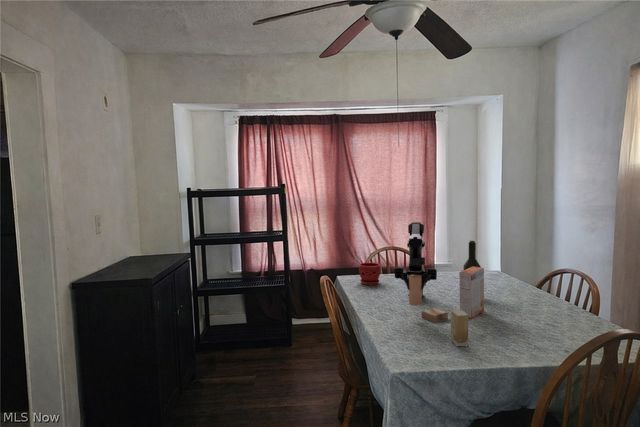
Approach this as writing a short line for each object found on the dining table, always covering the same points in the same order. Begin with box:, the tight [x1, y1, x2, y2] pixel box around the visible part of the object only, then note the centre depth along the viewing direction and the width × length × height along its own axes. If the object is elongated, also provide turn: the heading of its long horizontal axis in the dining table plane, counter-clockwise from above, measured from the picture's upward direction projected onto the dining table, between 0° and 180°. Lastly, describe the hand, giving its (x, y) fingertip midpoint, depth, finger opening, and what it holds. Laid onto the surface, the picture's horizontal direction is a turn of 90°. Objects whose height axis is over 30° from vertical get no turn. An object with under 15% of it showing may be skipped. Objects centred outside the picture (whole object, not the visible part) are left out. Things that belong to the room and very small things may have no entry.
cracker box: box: [459, 267, 485, 320], centre depth 174 cm, size 14×6×21 cm, turn 134°
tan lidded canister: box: [408, 274, 423, 306], centre depth 171 cm, size 6×6×13 cm
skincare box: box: [450, 309, 470, 347], centre depth 143 cm, size 6×4×12 cm
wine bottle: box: [463, 240, 482, 270], centre depth 198 cm, size 8×8×30 cm
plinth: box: [421, 307, 449, 323], centre depth 171 cm, size 8×8×3 cm
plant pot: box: [358, 262, 382, 286], centre depth 233 cm, size 13×13×12 cm
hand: (415, 290), depth 169 cm, fingers closed on tan lidded canister, 5 cm apart
